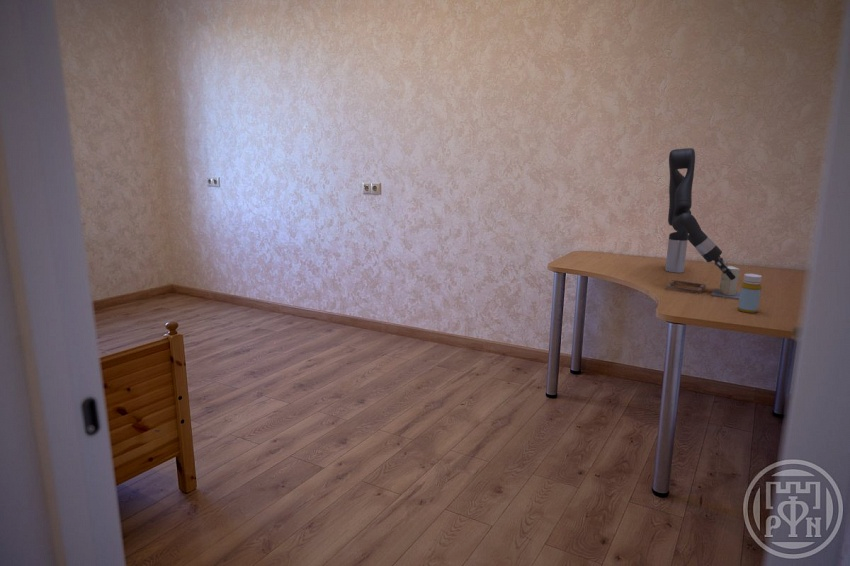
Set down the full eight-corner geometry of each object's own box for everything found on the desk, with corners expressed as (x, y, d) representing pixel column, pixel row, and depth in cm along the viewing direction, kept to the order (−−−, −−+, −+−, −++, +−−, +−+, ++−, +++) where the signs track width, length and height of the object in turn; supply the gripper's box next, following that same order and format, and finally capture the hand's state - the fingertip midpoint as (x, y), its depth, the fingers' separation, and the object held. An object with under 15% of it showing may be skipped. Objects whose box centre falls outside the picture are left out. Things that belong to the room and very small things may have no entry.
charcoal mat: (715, 289, 262) (715, 288, 262) (744, 293, 256) (744, 292, 255) (710, 295, 252) (711, 294, 251) (741, 300, 245) (741, 298, 245)
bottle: (755, 309, 231) (760, 274, 227) (759, 314, 225) (764, 277, 221) (736, 307, 233) (741, 272, 230) (739, 312, 227) (745, 276, 223)
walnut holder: (671, 282, 274) (672, 279, 274) (705, 287, 266) (705, 284, 266) (665, 289, 262) (665, 285, 262) (699, 294, 254) (700, 290, 254)
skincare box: (718, 291, 256) (722, 265, 253) (727, 291, 257) (731, 265, 254) (726, 295, 250) (730, 268, 247) (736, 295, 250) (740, 268, 248)
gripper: (716, 246, 245) (742, 275, 243) (714, 241, 258) (739, 268, 256) (701, 257, 248) (726, 285, 247) (700, 252, 261) (724, 278, 259)
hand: (733, 276), depth 251 cm, fingers open, 8 cm apart
